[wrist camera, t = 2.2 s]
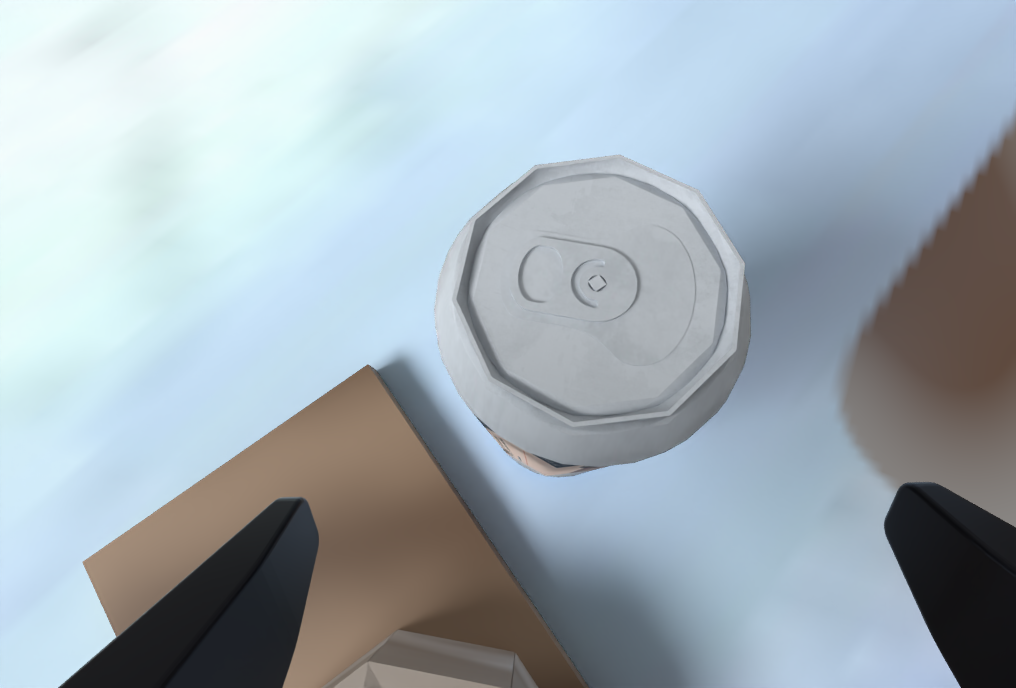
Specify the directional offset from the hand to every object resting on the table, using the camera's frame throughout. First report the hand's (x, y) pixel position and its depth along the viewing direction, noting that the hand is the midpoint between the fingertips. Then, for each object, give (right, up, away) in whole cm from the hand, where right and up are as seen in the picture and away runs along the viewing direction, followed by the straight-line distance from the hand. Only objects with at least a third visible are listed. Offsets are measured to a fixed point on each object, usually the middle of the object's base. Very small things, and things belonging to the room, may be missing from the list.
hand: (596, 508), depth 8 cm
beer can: (0, 0, +11) cm, 11 cm away
